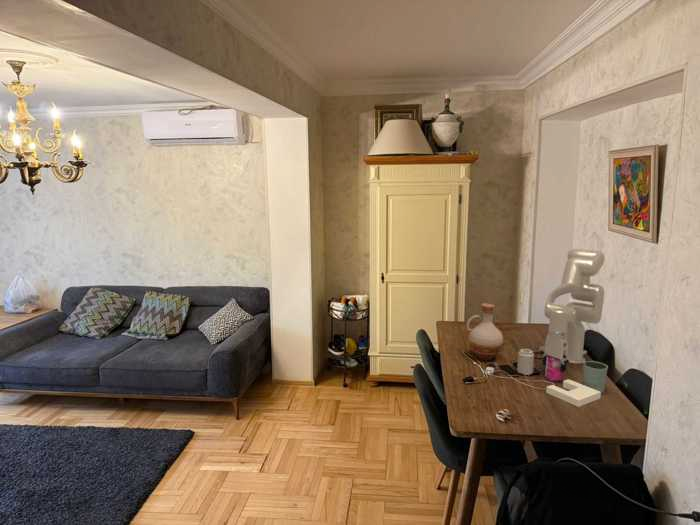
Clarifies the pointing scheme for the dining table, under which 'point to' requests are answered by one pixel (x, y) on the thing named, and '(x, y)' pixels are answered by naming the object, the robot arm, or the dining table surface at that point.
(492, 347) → the jug
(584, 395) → the notched board
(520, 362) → the can
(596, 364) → the grey-green cup
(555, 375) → the supplement box
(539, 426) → the dining table surface
